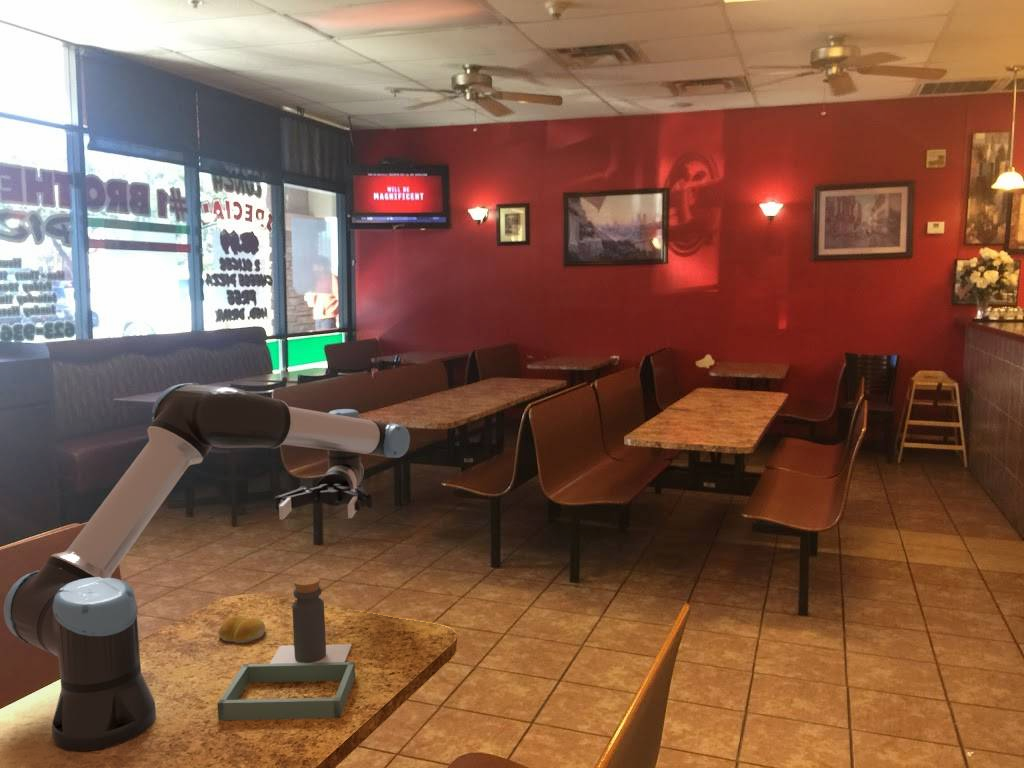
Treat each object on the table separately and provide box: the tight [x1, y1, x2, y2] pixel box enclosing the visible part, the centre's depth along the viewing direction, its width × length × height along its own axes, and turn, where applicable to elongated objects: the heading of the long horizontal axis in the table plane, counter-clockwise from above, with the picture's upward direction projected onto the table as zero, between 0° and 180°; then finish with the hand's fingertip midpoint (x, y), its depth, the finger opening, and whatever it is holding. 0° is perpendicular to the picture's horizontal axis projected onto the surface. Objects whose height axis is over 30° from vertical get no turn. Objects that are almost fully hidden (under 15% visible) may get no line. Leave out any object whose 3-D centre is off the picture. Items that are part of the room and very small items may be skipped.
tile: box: [268, 643, 353, 664], centre depth 159 cm, size 14×10×1 cm
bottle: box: [291, 575, 327, 663], centre depth 158 cm, size 6×6×15 cm
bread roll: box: [217, 614, 266, 644], centre depth 170 cm, size 8×9×4 cm
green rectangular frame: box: [217, 661, 356, 721], centre depth 144 cm, size 20×14×3 cm
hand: (315, 512), depth 165 cm, fingers open, 13 cm apart
